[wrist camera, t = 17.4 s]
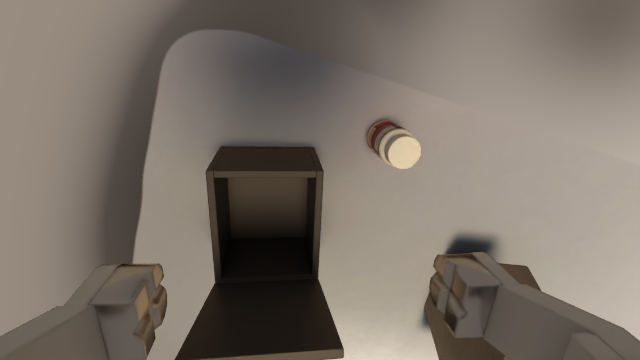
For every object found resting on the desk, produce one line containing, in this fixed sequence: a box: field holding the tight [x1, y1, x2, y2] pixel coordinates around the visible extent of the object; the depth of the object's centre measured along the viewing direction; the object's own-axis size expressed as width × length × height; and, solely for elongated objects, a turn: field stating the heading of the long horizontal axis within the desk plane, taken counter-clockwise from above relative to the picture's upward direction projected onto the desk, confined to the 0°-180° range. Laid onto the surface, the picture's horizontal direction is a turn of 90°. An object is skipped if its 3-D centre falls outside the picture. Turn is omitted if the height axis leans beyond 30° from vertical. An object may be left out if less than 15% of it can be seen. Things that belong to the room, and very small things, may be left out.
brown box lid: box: [175, 279, 344, 360], centre depth 32 cm, size 16×13×5 cm
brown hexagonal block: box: [425, 263, 541, 360], centre depth 49 cm, size 17×8×21 cm
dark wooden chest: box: [206, 147, 324, 283], centre depth 42 cm, size 15×13×10 cm
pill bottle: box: [367, 120, 421, 169], centre depth 41 cm, size 5×5×8 cm
